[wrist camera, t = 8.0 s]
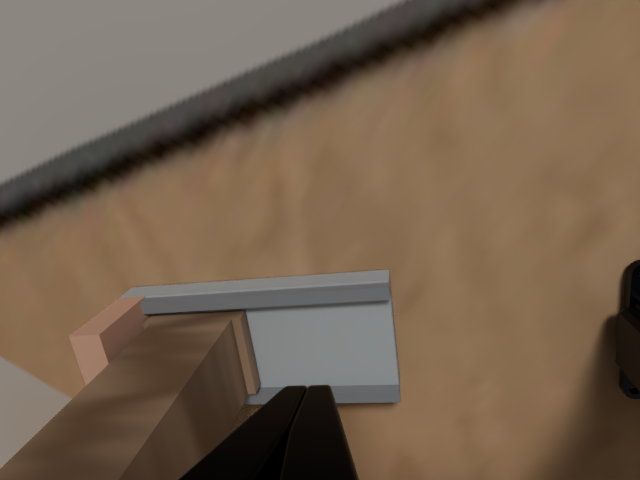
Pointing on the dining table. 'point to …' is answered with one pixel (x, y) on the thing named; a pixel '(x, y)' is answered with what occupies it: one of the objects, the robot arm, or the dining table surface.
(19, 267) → the dining table surface
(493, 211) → the dining table surface
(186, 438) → the slider block with knob
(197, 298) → the rail
